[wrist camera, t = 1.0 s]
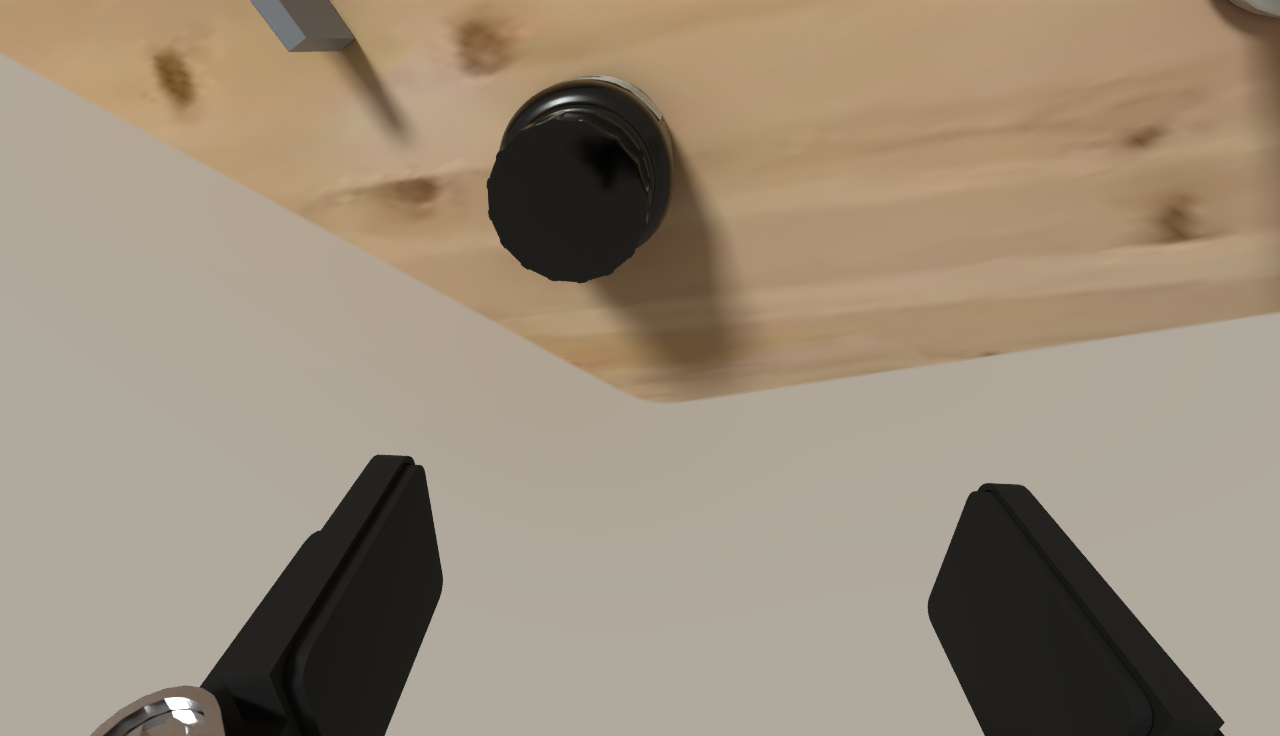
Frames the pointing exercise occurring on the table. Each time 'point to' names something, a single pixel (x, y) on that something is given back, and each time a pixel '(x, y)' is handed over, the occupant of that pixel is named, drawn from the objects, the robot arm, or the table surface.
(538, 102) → the ink bottle
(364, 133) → the table surface
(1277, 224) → the table surface
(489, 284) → the table surface
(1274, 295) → the table surface
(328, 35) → the bin
